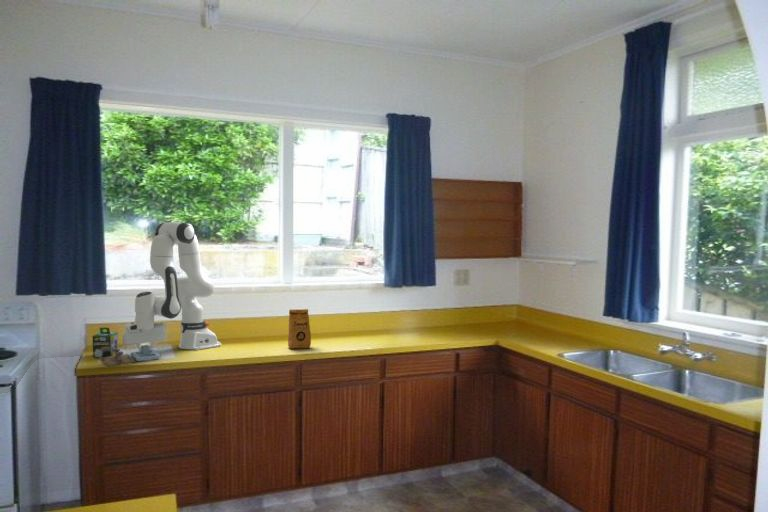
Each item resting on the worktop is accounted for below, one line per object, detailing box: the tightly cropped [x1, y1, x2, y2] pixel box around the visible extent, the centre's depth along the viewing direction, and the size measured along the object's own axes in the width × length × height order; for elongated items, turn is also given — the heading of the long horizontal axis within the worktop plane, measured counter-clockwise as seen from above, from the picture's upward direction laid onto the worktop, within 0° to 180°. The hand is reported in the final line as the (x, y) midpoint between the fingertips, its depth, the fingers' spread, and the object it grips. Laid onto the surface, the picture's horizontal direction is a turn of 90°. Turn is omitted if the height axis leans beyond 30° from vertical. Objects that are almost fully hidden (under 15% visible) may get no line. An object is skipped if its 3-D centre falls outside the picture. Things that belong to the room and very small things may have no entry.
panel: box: [129, 344, 162, 362], centre depth 276 cm, size 11×15×5 cm
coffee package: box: [287, 308, 312, 350], centre depth 305 cm, size 10×12×22 cm
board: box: [101, 347, 136, 368], centre depth 267 cm, size 12×16×5 cm
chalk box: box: [91, 326, 119, 358], centre depth 279 cm, size 9×9×15 cm
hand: (145, 351), depth 276 cm, fingers closed on panel, 3 cm apart
